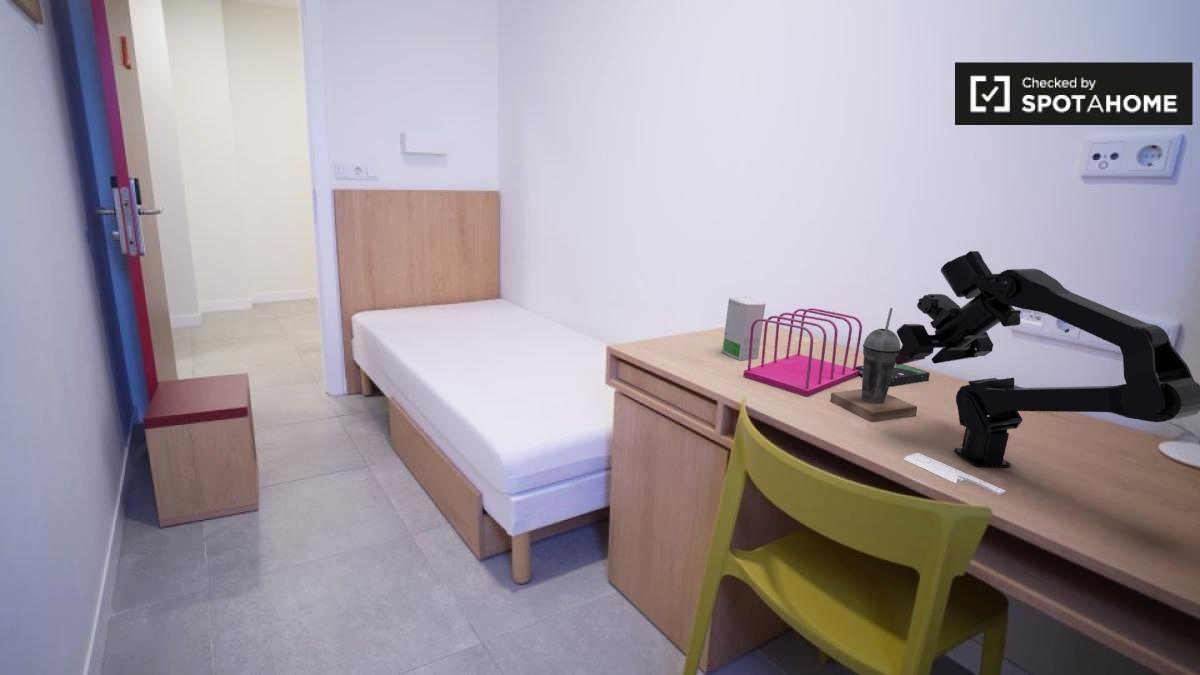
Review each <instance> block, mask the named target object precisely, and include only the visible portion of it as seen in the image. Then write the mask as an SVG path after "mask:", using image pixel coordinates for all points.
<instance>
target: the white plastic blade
mask: <svg viewBox="0 0 1200 675" xmlns="http://www.w3.org/2000/svg"><path fill="white" fill-rule="evenodd" d="M903 460H905V461H906V462H909V463H911V464H913V465H915V466H917V467H920V468H921V469H923V470H927V471H928V472H930V473H933V474H935V475H936V476H939V477H942V478H943V479H945V480H948V481H949V482H952V483H954V484H957V483H958V482H961V483H964V480H965V481H968V482H970V483H973V484H976V485H977V486H980V487H981V488H983V489H985V490H989V491H990V492H992V493H993V494H996V495H998V496H1001V495H1004V494H1006V491H1007V490H1005V489H1003V488H1000V487H998V486H997V485H993V484H991V483H989V482H987V481H984V480H982V479H980V478H977V477H975V476H972V475H970V474H968V473H966V472H963V471H961V470H958V469H957V468H954V467H952V466H950V465H947V464H945V463H943V462H941V461H938V460H936V459H933V458H931V457H929V456H927V455H924V454H922V453H919V452H914V453H913V454H909V455H906V456H905V457H904V458H903Z"/></svg>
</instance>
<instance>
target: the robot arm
mask: <svg viewBox="0 0 1200 675" xmlns="http://www.w3.org/2000/svg"><path fill="white" fill-rule="evenodd" d="M940 273H941V274H942V276H943V278H944V279H945V281H946V282H947V284H948V285H949V287H950V288H951V290H952V291H953V293H954V294H955V296H956V297H957V298H965V299H966V300H970V299H971V300H970V301H968V302H967V303H965V304H964V305H963V306H962V307H961V306H960V305H959V304H958V303H956V302H955V301H954V300H953V298H950V296H948V295H946V294H943V293H928V294H923V296H922V297H921V298H918V302H917V303H916V307H917V309H918V310H919V311H920V312H922V313H923V314H925V315H927V316H928V317H929V318H931V319H932V320H931V321H930V322H929V323H930V325H931V327H932V328H933V329H934V334H929V333H928V331H927V330H926V327H925V325H923V324H920V323H904V324H902V325H900V327H899V328H897V329H896V335H897V337H898V339H899V341H900V344H902V345H901V346H900V351H899V353H898V355H897V357H896V359H895V362H896V364H897V365H900V364H904V365H906V364H908V363H913V362H917V361H921V360H925V359H926V357H929V356H931V355H932V354H933V353H934V349H940V350H939V351H937V353H936V354H934V356H933V357H932V358H931V361H932V363H933V364H935V365H936V364H941V363H947V362H953V361H961V360H967V359H972V358H973V359H975V358H978V357H985V356H987V355H988V354H990V353H991V352H993V349H994V348H993V347H994V343H993V341H992V340H991V338H990V336H989V334H988V332H987V331H989V330H991V329H993V328H994V327H995V326H997V325H998V324H1001V326H1003V327H1007V328H1008V327H1015V326H1020V325H1021V313H1022V312H1021V310H1020V309H1022V310H1028V311H1033V312H1038V313H1043V314H1045V315H1049V316H1051V317H1054V318H1056V319H1058V320H1060V321H1061V322H1063V323H1066V324H1069V325H1071V326H1073V327H1074V328H1077V329H1080V330H1081V331H1084V332H1086V333H1089V334H1090V335H1093V336H1095V337H1096V338H1099V339H1101V340H1104V341H1106V342H1108V343H1110V344H1112V345H1115V346H1117V347H1119V349H1120V351H1121V354H1122V359H1123V361H1122V365H1123V368H1122V369H1123V378H1124V381H1125V383H1122V384H1118V385H1117V384H1116V385H1100V386H1099V385H1097V386H1094V385H1093V386H1056V387H1055V386H1052V387H1051V386H1049V387H1047V386H1046V387H1045V386H1044V387H1022V386H1018V385H1015V377H1007V378H1000V379H998V378H996V377H991V378H990V377H989V378H982V379H975V380H969V381H967V382H968V384H966V385H962V386H960V387H959V389H958V391H957V392H956V395H955V403H956V406H957V413H958V419H959V420H958V421H959V425H960V426H962V427H964V428H965V430H964V434H963V439H962V444H961V447H954V449H953V452H955V453H956V454H958V455H959V456H961V457H962V458H963V459H965V460H966V461H968V462H969V463H970V464H971V465H973V466H975V467H996V468H997V467H1000V468H1001V467H1002V468H1004V467H1007V468H1010V467H1011V463H1010V462H1009V461H1007V460H1006V459H1004V458H1005V454H1006V448H1007V444H1008V441H1009V437H1010V433H1009V432H1008V431H1009V430H1014V429H1018V428H1019V427H1020V425H1021V423H1022V422H1023V417H1022V416H1021V415H1020V413H1019V412H1056V413H1057V412H1059V413H1060V412H1061V413H1062V412H1065V413H1067V412H1068V413H1070V412H1071V413H1072V412H1074V413H1081V412H1082V413H1110V414H1113V415H1114V414H1115V415H1117V416H1120V417H1124V418H1128V419H1133V420H1140V421H1143V422H1144V421H1145V422H1151V423H1162V422H1169V421H1173V420H1174V421H1175V420H1179V419H1183V418H1187V417H1192V416H1195V415H1198V413H1199V412H1200V384H1199V383H1198V382H1196V381H1195V379H1194V376H1193V375H1192V372H1191V370H1190V368H1189V366H1188V364H1187V363H1186V362H1185V360H1184V359H1183V357H1181V355H1180V354H1179V353H1178V352H1177V350H1176V349H1175V347H1174V346H1173V345H1172V342H1171V340H1170V337H1169V335H1168V333H1167V332H1166V330H1165V329H1163V328H1162V327H1160V326H1159V325H1157V324H1152V323H1147V322H1144V321H1143V320H1142V321H1141V320H1139V319H1138V318H1134V317H1133V316H1130V315H1128V314H1126V313H1123V312H1120V311H1118V310H1116V309H1113V308H1110V307H1108V306H1105V305H1103V304H1101V303H1099V302H1096V301H1093V300H1091V299H1089V298H1087V297H1084V296H1081V295H1079V294H1076V293H1074V292H1072V291H1070V290H1068V289H1067V288H1066V287H1065V286H1064V285H1062V284H1061V283H1060V282H1059V281H1058V280H1057V279H1055V277H1053V276H1051V275H1049V274H1048V273H1046V272H1045V271H1043V270H1041V269H1038V268H1016V269H1015V268H1014V269H1013V268H1012V269H1006V270H1003V271H1001V272H1000V273H993V272H992V271H991V269H990V268H989V267H988V265H987V264H986V263H985V261H984V259H983V256H982V255H981V253H980V252H979V251H978V250H977V251H976V250H970V251H969V250H968V252H966V254H963V255H960V256H958V257H956V258H954V259H952V260H949V261H947V262H946V263H944V264H943V265H942V266H941V269H940ZM1014 307H1015V308H1018V309H1015V308H1014Z"/></svg>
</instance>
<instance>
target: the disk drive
mask: <svg viewBox="0 0 1200 675" xmlns="http://www.w3.org/2000/svg"><path fill="white" fill-rule="evenodd" d="M856 370H859V375H858V377H859V376H860V377H859V378H862V379H863V365H859V366H858V365H856ZM930 374H931V373H930V372H929V371H927V370H924V369H920V368H917V367H914V366H910V365H906V364H900V365H897V364H896V362H895V366H894V370H893V373H892V377H891V381H890V385H889V388H891V387H897V386H903V385H912V384H916V383H923V382H929V380H930V376H931V375H930Z"/></svg>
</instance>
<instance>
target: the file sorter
mask: <svg viewBox="0 0 1200 675" xmlns="http://www.w3.org/2000/svg"><path fill="white" fill-rule="evenodd" d="M798 312H803V313H802V314H799V313H798ZM807 313H811V314H815V315H819V316H825V317H828V318H829V317H830V318H834V319H838V320H843V321H845V322H846V323H847V325H848V335H847V342H846V348H845V352H844V353H845V354H844V359H843V364H842V365H841V364H838V363H836V355H837V345H838V344H837V343H838V327H837V325H836V323H835V322H834V321H833V320H831V319H827V318H823V317H817V316H811V315H806V314H807ZM786 316H791V318H789V317H786ZM795 317H798V318H801V320H800V319H796V318H795ZM805 318H806V319H809V320H810V319H811V320H817V321H822V322H827V323H829V324H831V325H832V327H833V330H834V336H833V337H834V339H833V350H832V359H831V362H830V361H826V360H825V354H826V347H827V346H826V344H827V332H826V330H825V328H824V327H823V326H822V325H820V324H819V323H816V322H811V321H806V320H805ZM847 318H849V319H852V320H855V321H856V322H857V324H858V326H859V329H858V335H857V342H856V349H855V353H854V354H855V355H854V360H853V367H848V366H847V363H848V355H849V350H850V345H851V344H850V343H851V340H852V333H853V326H852V323H851V322H850V320H849V319H847ZM772 319H777V320H772ZM781 320H784V321H788V323H787V322H782V321H781ZM758 321H763V323H764V331H763V341H762V352H761V363H760V364H759V365H757V366H754V367H752V359H751V357H752V343H753V331H754V326H755V324H756V323H757V322H758ZM789 321H790V323H789ZM794 322H795V323H800V325H797V324H794ZM769 323H770V324H775V326H776V328H775V339H774V351H773V352H774V353H773V360H772V361H770V362H767V363H765V357H766V345H767V332H768V325H769ZM780 325H781V326H786V327H789V331H788V332H789V333H788V339H787V340H788V341H787V345H786V346H787V348H786V355H785V357H782V358H779V359H777V358H778V346H779V345H778V341H779V330H780ZM804 325H809V326H814V327H818V328H819V329H820V330H821V331H822V334H823V340H822V349H821V358H820V359H818V358H814V357H813V348H814V336H813V333H812V331H811V330H810V329H809V328H808V327H805V326H804ZM793 328H796V329H800V331H799V337H798V338H799V339H798V345H797V346H798V347H797V353H796V354H793V355H790V350H791V341H792V335H793ZM804 331H805V332H807V334H808V335H809V338H810V339H809V340H810V343H809V352H808V356H807V355H803V354H801V348H802V340H803V334H804V333H803V332H804ZM862 332H863V324H862V322H861V320H860V319H859V318H858V317H856V316H854V315H849V314H845V313H840V312H835V311H830V310H825V309H819V308H814V307H813V308H811V307H810V308H806V309H805V308H797V309H796V310H794V311H793V313H792V312H782V313H780V314H779V316H778V315H772V316H769V317H768V318H767V319H765V318H763V319H757V320H755V321H754V322H753V324H752V326H751V334H750V346H749V359H748V360H747V361H748V362H747V363H748V364H747V369H744V370H743V376H742V377H744V378H748V379H750V380H753V381H755V382H756V381H757V382H758V383H759V382H760V383H763V384H766V385H770V386H772V387H775V388H779V389H782V390H785V391H787V392H791V393H794V394H797V395H801V396H803V397H807V398H809V397H810V396H813V395H816V394H818V393H820V392H823V391H825V390H828V389H830V388H833V387H836V386H838V385H840V384H842V383H845V382H847V381H850V380H852V379H855V378H858V377H859V376H858V375H859V370H856V367H857V362H858V356H859V351H860V345H861V338H862Z"/></svg>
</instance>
